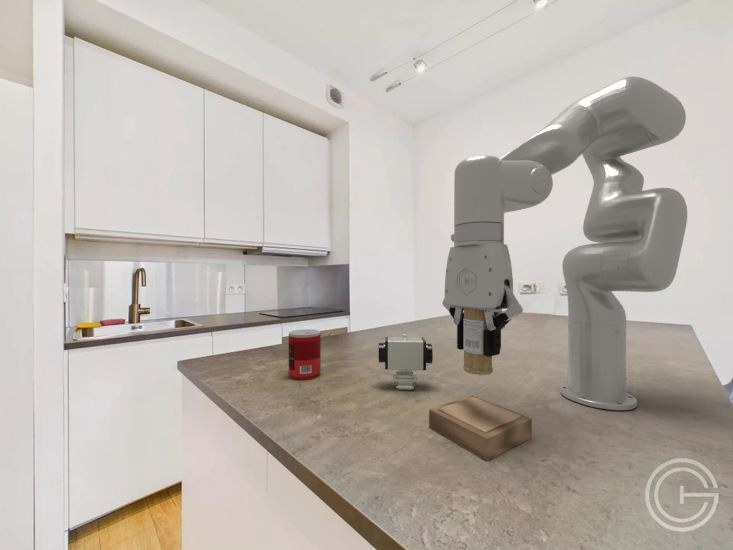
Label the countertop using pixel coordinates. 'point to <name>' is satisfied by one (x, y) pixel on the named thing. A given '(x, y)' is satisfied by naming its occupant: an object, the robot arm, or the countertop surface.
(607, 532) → the countertop surface
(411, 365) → the pneumatic valve
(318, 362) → the canned food
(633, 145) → the robot arm
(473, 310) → the sprinkles bottle
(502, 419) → the tan square tray
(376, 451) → the countertop surface
